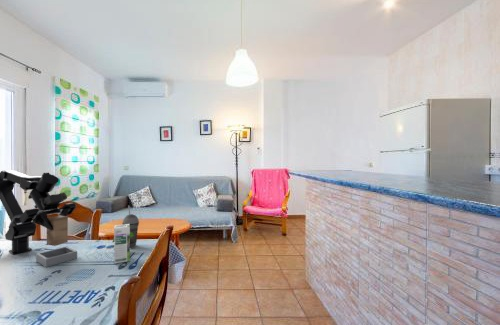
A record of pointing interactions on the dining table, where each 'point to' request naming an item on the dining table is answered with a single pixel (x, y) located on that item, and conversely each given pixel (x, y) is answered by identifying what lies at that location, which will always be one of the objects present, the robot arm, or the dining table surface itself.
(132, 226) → the beverage cup
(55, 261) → the bin
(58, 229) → the handle block
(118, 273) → the dining table surface
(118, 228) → the syrup box
